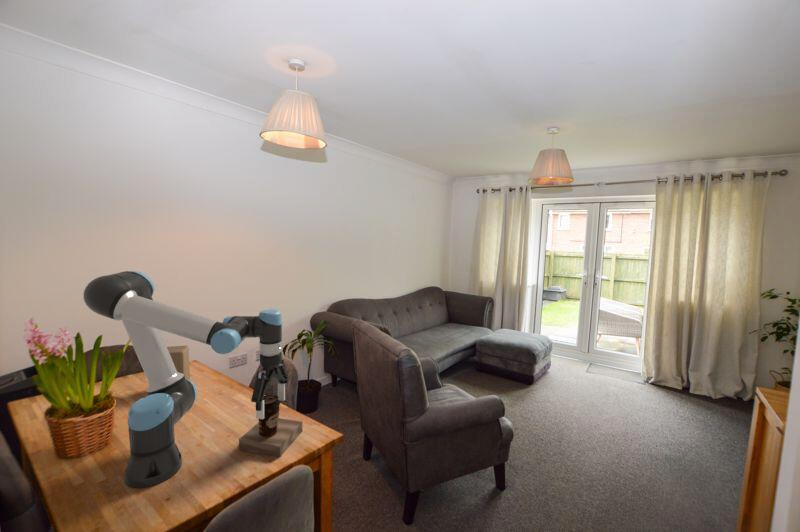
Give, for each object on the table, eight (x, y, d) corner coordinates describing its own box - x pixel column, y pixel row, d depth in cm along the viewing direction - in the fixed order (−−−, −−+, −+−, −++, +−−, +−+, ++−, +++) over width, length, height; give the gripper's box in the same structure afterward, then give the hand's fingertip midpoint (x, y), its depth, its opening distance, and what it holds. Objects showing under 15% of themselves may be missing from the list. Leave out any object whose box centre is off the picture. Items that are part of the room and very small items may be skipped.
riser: (280, 457, 122) (280, 446, 121) (239, 449, 125) (238, 439, 125) (302, 431, 137) (302, 421, 137) (265, 425, 141) (265, 416, 140)
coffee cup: (285, 427, 133) (284, 394, 131) (275, 440, 124) (274, 405, 123) (262, 425, 133) (262, 392, 132) (251, 438, 125) (250, 403, 124)
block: (167, 385, 173) (165, 346, 171) (190, 383, 176) (188, 344, 174) (160, 395, 163) (158, 353, 161) (184, 392, 166) (183, 351, 164)
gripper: (259, 366, 115) (260, 428, 117) (297, 343, 139) (297, 394, 141) (239, 364, 116) (240, 425, 118) (280, 341, 140) (280, 392, 143)
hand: (271, 408), depth 130 cm, fingers open, 13 cm apart
